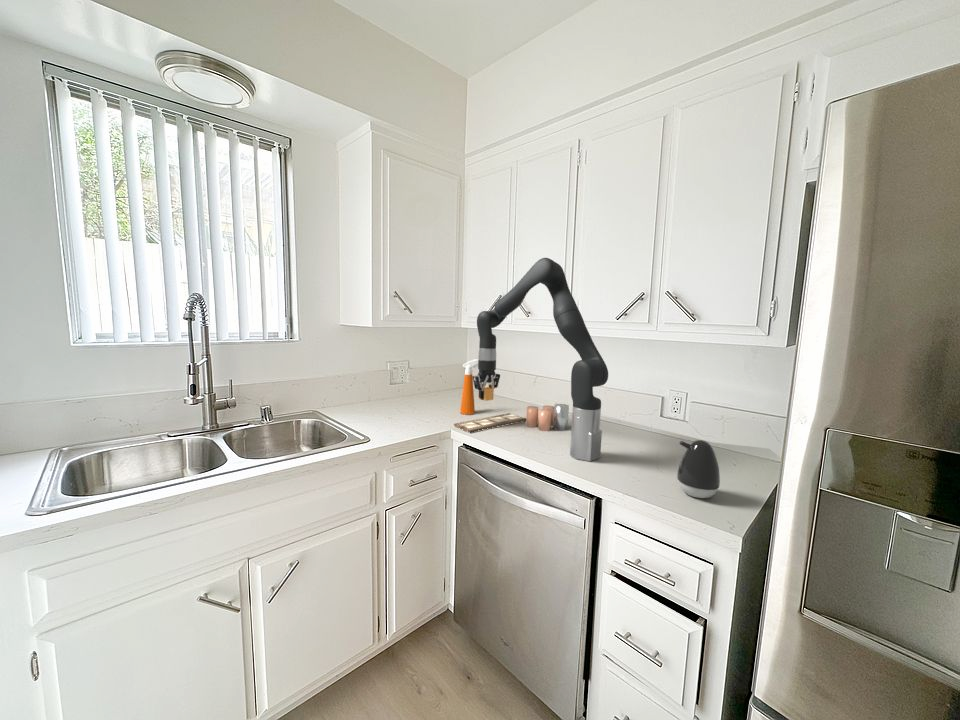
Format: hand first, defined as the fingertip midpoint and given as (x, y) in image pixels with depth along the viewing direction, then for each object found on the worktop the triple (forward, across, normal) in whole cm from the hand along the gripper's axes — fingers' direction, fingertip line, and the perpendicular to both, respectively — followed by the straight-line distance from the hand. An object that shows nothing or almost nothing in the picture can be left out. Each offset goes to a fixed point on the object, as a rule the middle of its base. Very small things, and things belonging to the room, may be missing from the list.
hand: (485, 398), depth 166 cm
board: (+12, -4, 0) cm, 12 cm away
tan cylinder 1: (+12, -17, +12) cm, 24 cm away
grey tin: (+12, -24, +22) cm, 34 cm away
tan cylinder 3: (+12, -17, +18) cm, 28 cm away
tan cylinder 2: (+12, -24, +14) cm, 30 cm away
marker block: (0, 0, 0) cm, 0 cm away
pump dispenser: (+12, -5, +84) cm, 85 cm away
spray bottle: (+12, -8, -19) cm, 24 cm away
